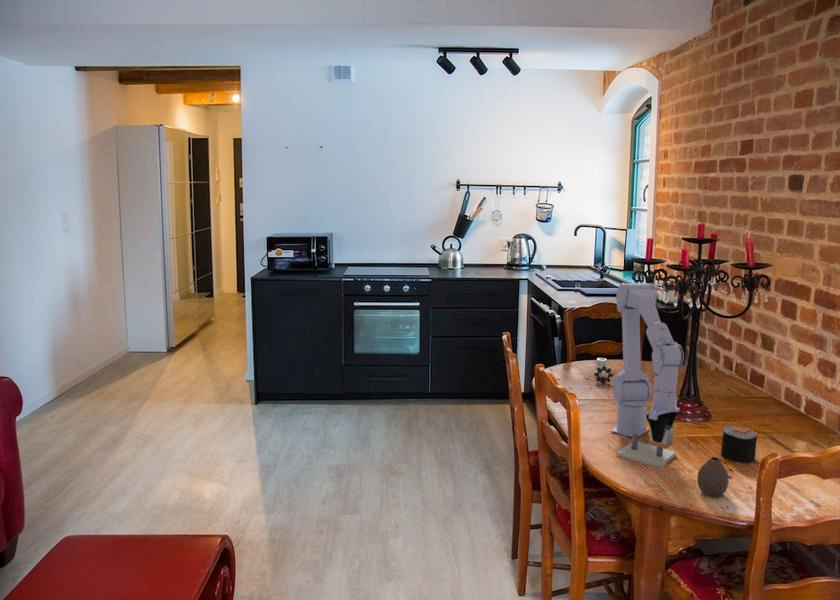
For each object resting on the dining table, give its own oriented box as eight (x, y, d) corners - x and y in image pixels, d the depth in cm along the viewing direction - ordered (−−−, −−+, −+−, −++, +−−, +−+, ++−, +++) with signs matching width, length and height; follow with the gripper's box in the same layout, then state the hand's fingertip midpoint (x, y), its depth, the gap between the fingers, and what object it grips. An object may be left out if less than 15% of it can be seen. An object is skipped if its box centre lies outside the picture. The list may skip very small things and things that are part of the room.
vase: (691, 492, 172) (694, 458, 171) (703, 484, 177) (707, 450, 176) (719, 502, 168) (723, 467, 166) (732, 493, 172) (735, 459, 171)
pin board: (633, 444, 203) (634, 427, 202) (675, 455, 195) (677, 437, 194) (616, 455, 194) (618, 438, 193) (660, 467, 187) (662, 449, 186)
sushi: (728, 448, 201) (731, 421, 199) (759, 457, 195) (762, 429, 193) (715, 456, 195) (718, 428, 194) (746, 465, 189) (749, 436, 188)
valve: (591, 374, 273) (593, 383, 261) (592, 357, 272) (595, 365, 260) (609, 375, 272) (612, 384, 260) (610, 358, 271) (613, 366, 259)
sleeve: (655, 439, 195) (657, 422, 194) (672, 444, 192) (674, 426, 191) (649, 444, 191) (650, 426, 190) (666, 448, 188) (667, 430, 188)
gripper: (669, 399, 181) (665, 450, 183) (689, 386, 192) (685, 435, 194) (642, 393, 185) (638, 443, 188) (663, 381, 196) (659, 428, 199)
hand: (660, 438), depth 191 cm, fingers closed on sleeve, 5 cm apart
